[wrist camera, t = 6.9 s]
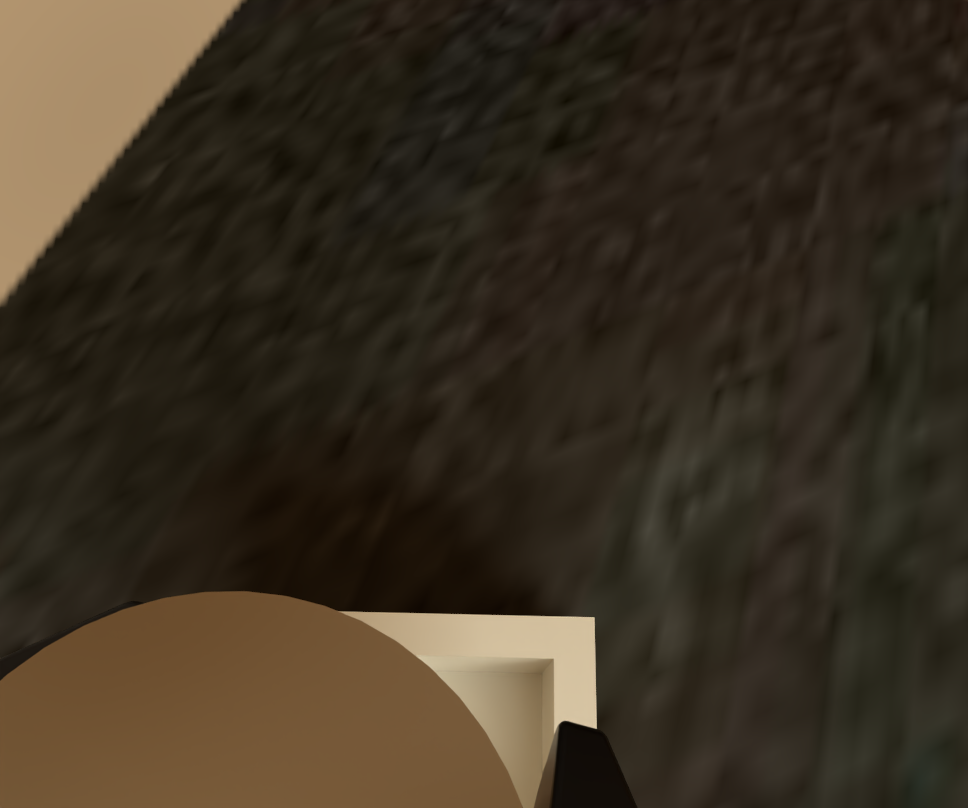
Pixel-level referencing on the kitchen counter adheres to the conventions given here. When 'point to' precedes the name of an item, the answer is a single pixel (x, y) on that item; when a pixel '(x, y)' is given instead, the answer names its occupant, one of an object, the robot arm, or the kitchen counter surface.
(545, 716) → the cream square tray
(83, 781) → the wick dowel
